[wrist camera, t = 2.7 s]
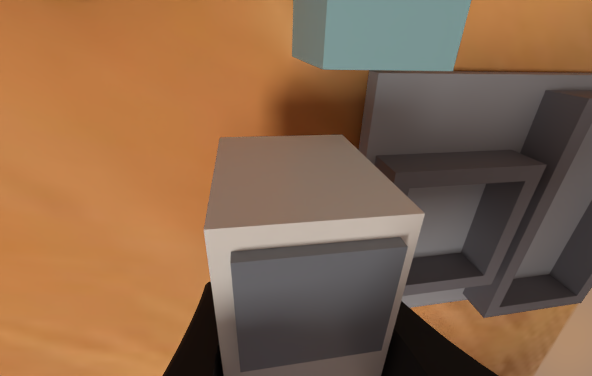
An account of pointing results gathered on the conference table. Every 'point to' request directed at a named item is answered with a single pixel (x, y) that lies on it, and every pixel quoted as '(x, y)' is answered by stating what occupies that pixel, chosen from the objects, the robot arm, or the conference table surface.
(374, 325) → the beige rectangular block
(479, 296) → the jig
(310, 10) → the teal block
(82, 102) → the conference table surface
